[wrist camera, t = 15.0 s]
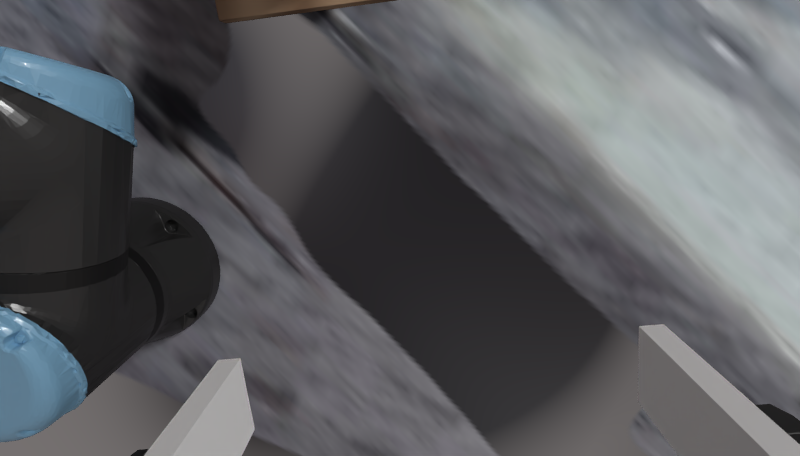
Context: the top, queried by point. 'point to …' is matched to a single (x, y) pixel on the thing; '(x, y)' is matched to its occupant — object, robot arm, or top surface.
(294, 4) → the walnut lid
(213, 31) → the top surface
